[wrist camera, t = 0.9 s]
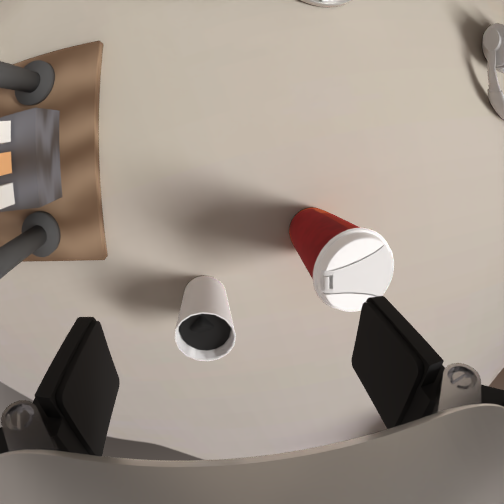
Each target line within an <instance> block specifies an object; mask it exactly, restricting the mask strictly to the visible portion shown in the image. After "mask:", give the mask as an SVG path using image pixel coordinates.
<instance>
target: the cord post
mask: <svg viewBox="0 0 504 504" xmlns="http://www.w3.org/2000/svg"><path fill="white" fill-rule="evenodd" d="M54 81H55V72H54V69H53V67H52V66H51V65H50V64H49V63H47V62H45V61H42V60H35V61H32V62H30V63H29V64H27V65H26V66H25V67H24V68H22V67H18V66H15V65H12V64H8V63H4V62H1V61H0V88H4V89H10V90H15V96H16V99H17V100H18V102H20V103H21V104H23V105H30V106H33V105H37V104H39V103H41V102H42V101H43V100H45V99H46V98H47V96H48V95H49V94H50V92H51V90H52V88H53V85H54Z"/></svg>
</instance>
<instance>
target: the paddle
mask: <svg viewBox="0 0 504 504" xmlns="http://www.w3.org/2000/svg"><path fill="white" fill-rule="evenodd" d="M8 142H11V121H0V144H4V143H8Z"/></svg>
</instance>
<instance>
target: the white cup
mask: <svg viewBox="0 0 504 504" xmlns="http://www.w3.org/2000/svg"><path fill="white" fill-rule="evenodd" d="M235 339H236V334H235V330H234V325H233V321H232V316H231V312H230V307H229V303H228V298H227V293H226V290H225V286H224V285H223V284H222V283H221V282H220V281H219V280H218V279H216V278H214V277H211V276H200V277H196V278H194V279H193V280H191V281H190V282H189V283H188V285H187V286H186V288H185V291H184V295H183V299H182V304H181V308H180V312H179V316H178V321H177V325H176V330H175V341H176V344H177V346H178V348H179V349H180V350H181V351H182V352H183V353H184V354H185V355H186V356H188V357H190V358H192V359H195V360H199V361H212V360H217V359H220V358H222V357H223V356H225V355H227V354H228V353H229V352H230V350H231V349H232V348H233V347H234V344H235Z"/></svg>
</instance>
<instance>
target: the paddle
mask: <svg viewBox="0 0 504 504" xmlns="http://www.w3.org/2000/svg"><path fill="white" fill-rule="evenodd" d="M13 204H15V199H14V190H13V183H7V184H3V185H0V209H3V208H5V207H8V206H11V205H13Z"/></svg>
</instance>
